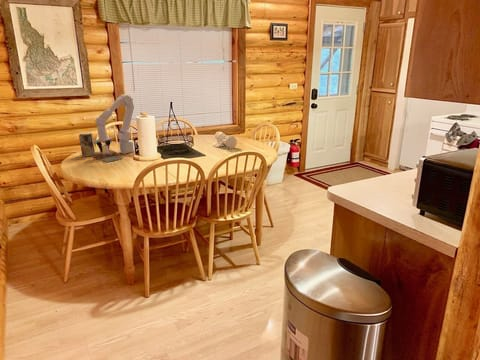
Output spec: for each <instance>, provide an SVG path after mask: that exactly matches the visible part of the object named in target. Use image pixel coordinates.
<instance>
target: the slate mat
mask: <svg viewBox="0 0 480 360" xmlns="http://www.w3.org/2000/svg"><path fill="white" fill-rule="evenodd" d="M100 160H101V161H103V162H104V163H111V162H115V161H121V160H123V158H122V157H120V156H113V157H108V158H103V159H100Z"/></svg>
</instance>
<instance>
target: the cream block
mask: <svg viewBox="0 0 480 360" xmlns="http://www.w3.org/2000/svg"><path fill="white" fill-rule="evenodd" d="M109 150H110V149H109ZM109 150H108V145H106V144H102V152H101V153H102V154H105V153H109Z"/></svg>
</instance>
